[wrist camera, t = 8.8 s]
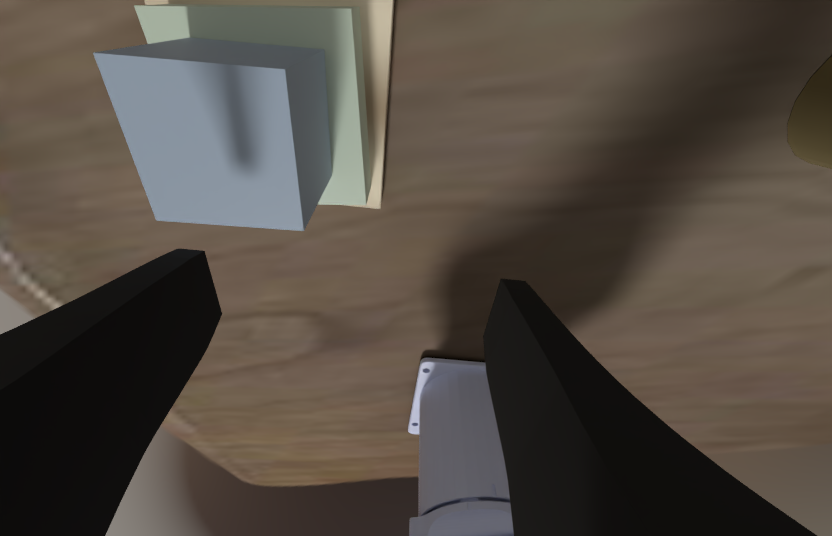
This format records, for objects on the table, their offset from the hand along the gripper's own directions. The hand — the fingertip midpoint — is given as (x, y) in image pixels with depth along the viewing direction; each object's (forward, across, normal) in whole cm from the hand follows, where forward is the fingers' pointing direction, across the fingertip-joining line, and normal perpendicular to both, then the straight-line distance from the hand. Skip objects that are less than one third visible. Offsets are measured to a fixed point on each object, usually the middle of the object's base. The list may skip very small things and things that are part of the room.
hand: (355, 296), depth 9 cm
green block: (+9, +4, -2) cm, 11 cm away
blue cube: (+7, +4, -2) cm, 9 cm away
